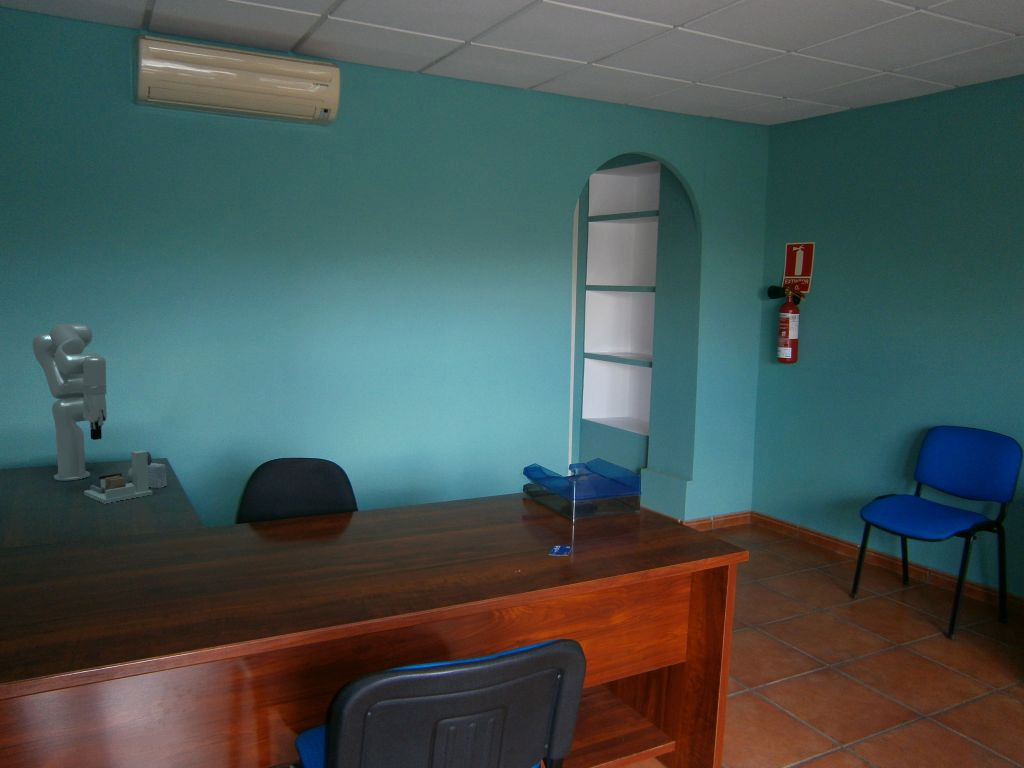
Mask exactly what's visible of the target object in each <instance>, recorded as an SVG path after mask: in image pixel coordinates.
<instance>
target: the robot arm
mask: <svg viewBox="0 0 1024 768" xmlns="http://www.w3.org/2000/svg"><path fill="white" fill-rule="evenodd" d="M92 340H93V331H92V329H91V327H90V326H89V325H87V324H86V323H83V322H81V323H80V322H79V323H77V322H75V323H73V322H72V323H71V322H69V323H58V324H55V325H53V326H52V327H51V328H50V330H49V332H46V333H45V332H44V333H40V334H38V335H35V337H33V339H32V351H33V355H34V357H35V359H36V361H37V362H38V364H39V365H40V367H41V368H42V370H43V372H44V375H45V377H46V378H45V379H46V381H47V385H48V389H49V391H50V394H51V396H52V397H53V398H54V399H58V400H56V401H55V402H53V404H52V406H51V412H52V416H53V421H54V426H55V436H56V456H57V473H56V474H54V475H53V479H54V480H55V481H65V482H66V481H67V482H68V481H78V479H79V480H83V478H84V479H87V478H89V477H90V476H91V472H89V471H87V470H86V453H85V434H84V431H83V429H82V428H81V427H80V426H79V425H78V424H77V423H79V422H86V421H88V422H89V428H90V439H91V440H92V441H97V440H102V436H103V435H102V427H103V426H104V423H105V421H107V416H108V413H107V412H108V411H107V400H106V395H107V367H106V365H107V363H106V359H105V357H103V356H101V355H100V354H98V353H83V352H84V351H85V349H86V348H87V347H88V346H89V345H90V344H91V342H92ZM86 477H87V478H86Z"/></svg>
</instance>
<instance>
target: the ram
mask: <svg viewBox="0 0 1024 768" xmlns="http://www.w3.org/2000/svg"><path fill="white" fill-rule="evenodd" d="M114 476H121V477H123V472H119V471H118V472H114V473H107V474H101V475H97V480H98V481H100V488H101V489H102V492H104V493H105V490H106V487H105V478H108V477H114Z"/></svg>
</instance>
